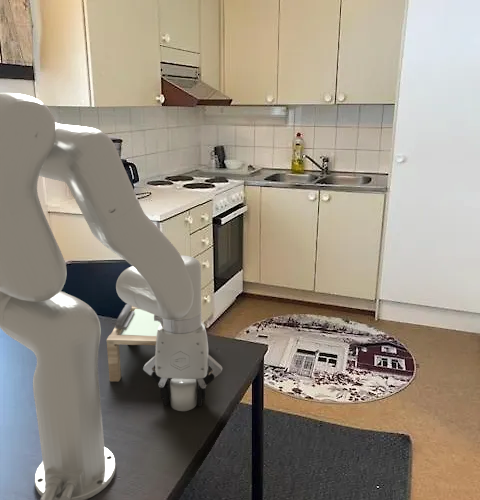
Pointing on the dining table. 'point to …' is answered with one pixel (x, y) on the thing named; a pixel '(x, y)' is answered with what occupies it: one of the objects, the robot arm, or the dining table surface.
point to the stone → (183, 394)
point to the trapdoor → (137, 322)
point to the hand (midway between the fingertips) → (183, 400)
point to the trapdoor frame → (114, 351)
